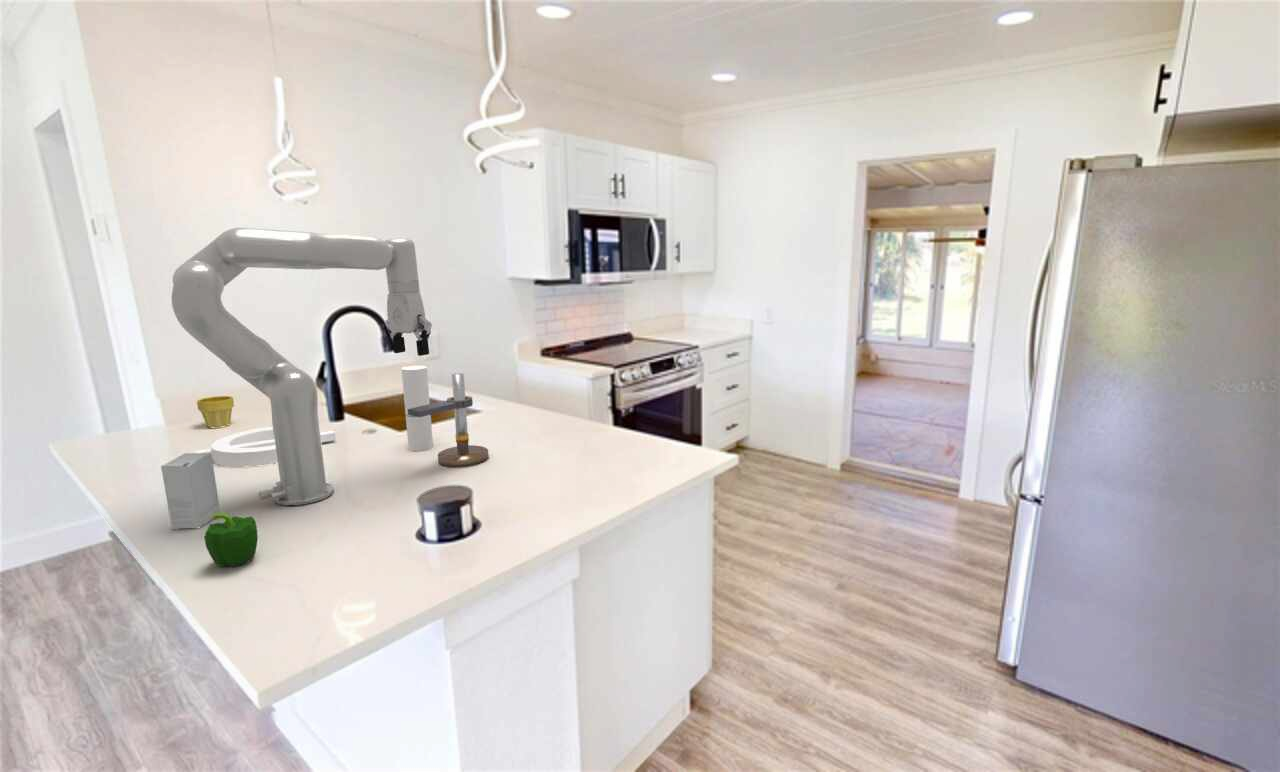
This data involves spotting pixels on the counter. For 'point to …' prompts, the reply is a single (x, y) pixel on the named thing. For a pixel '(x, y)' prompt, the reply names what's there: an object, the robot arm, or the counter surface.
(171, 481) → the skincare box
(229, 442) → the white circle with bar
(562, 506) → the counter surface
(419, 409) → the collar
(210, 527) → the bell pepper
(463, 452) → the pipe stand
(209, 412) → the plant pot
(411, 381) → the cylindrical container
